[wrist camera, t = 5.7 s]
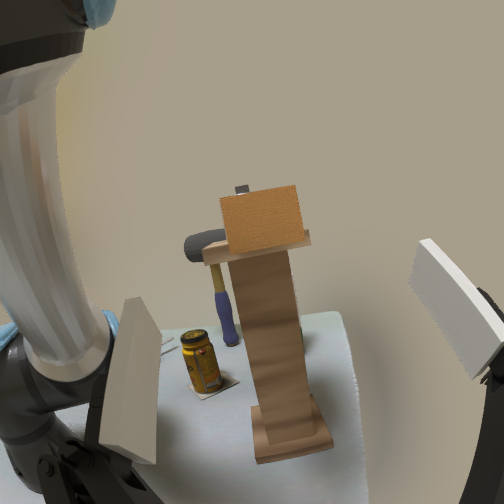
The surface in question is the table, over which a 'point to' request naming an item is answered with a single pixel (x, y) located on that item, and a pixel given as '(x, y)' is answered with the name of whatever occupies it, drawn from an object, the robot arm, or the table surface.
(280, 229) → the wooden handle
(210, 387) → the condiment
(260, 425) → the walnut stand
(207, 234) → the rubber mallet
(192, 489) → the table surface
